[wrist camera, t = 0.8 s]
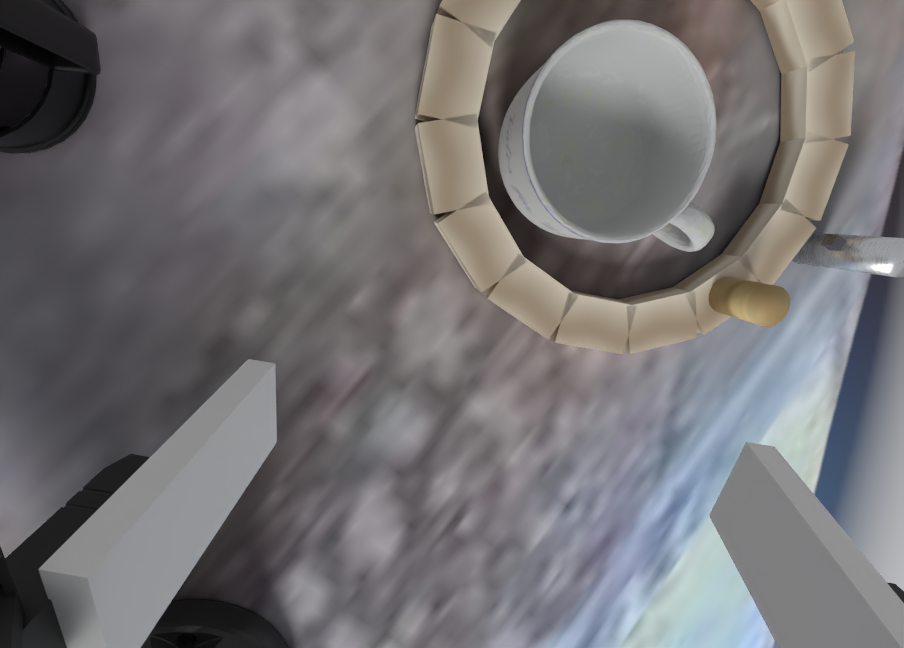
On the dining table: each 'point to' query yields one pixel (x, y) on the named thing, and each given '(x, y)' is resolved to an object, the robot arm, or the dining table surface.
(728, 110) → the dining table surface
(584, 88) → the teacup
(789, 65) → the ring
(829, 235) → the shiny cylinder
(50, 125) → the french press
